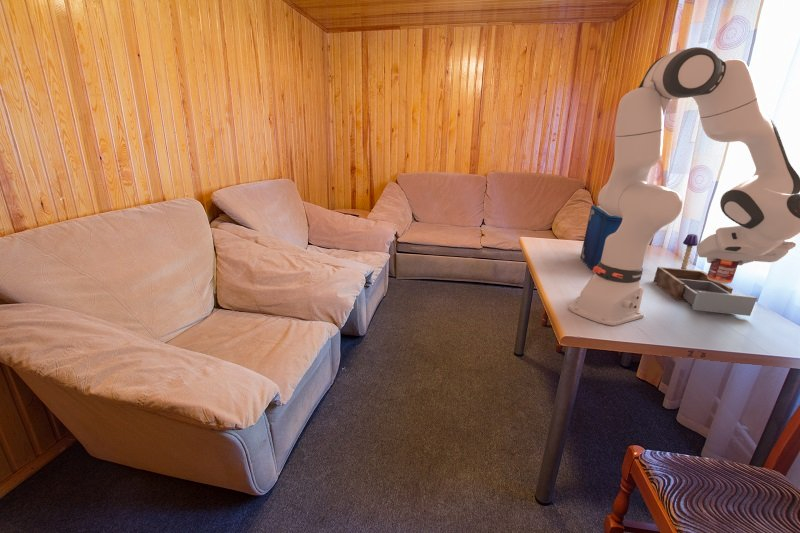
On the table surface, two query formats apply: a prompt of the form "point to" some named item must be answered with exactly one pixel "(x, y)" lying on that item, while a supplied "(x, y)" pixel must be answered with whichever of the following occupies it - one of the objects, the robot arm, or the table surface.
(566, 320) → the table surface
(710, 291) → the tray
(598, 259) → the book
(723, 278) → the pill bottle
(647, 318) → the table surface
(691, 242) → the toy lamp
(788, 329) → the table surface
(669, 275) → the walnut box
